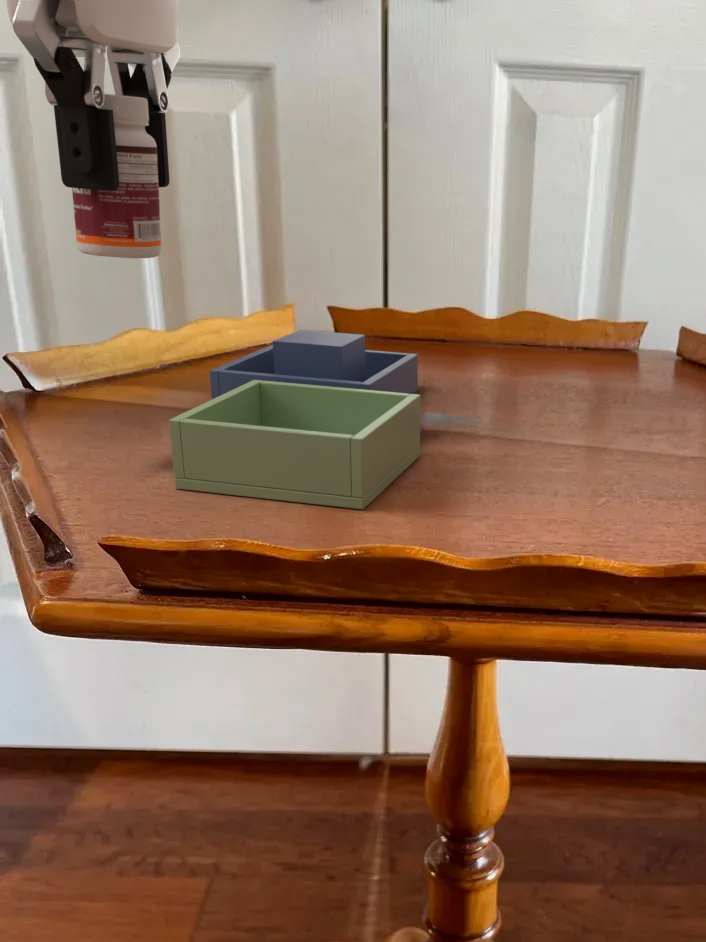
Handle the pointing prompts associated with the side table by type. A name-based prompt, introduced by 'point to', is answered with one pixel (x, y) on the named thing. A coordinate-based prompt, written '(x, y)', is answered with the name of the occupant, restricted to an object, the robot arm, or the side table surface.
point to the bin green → (297, 443)
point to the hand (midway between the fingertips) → (118, 183)
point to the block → (321, 355)
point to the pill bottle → (124, 191)
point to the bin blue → (380, 376)
